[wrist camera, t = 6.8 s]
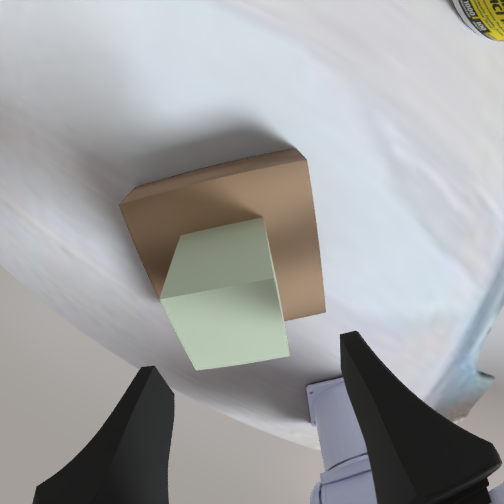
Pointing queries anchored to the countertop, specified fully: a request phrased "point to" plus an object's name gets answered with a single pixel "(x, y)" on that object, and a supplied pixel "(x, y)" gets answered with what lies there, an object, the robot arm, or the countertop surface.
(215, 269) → the sage cube
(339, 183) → the countertop surface
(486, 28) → the pill bottle
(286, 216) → the walnut base
